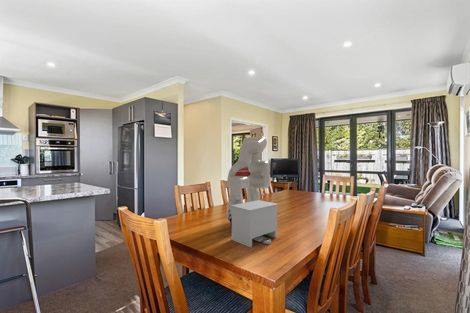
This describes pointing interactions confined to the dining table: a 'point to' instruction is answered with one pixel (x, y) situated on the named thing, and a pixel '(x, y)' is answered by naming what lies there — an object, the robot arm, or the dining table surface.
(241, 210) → the cabinet
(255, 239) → the blade tool
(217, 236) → the dining table surface
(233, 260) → the dining table surface
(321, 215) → the dining table surface
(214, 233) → the dining table surface
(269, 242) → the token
